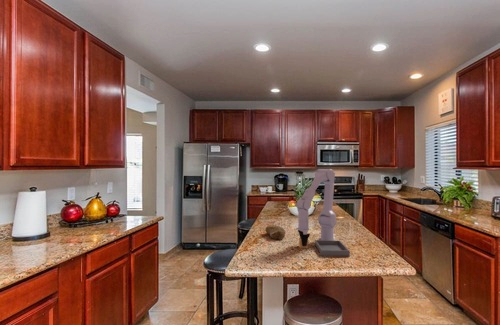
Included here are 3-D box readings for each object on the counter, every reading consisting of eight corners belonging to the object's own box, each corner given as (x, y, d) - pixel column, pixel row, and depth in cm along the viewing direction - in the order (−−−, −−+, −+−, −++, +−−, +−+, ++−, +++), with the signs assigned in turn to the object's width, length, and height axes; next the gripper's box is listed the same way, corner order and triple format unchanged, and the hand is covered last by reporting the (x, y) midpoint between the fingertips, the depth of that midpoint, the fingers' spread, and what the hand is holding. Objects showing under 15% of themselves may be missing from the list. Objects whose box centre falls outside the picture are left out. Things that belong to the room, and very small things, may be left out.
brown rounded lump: (286, 242, 181) (285, 228, 200) (284, 230, 179) (283, 218, 199) (266, 245, 182) (266, 231, 202) (263, 234, 181) (264, 221, 200)
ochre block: (299, 245, 167) (299, 237, 167) (307, 246, 167) (307, 238, 167) (300, 248, 163) (299, 240, 163) (308, 248, 163) (308, 240, 163)
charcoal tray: (315, 245, 168) (315, 240, 168) (339, 245, 167) (339, 240, 167) (321, 256, 148) (321, 250, 148) (349, 256, 147) (349, 250, 147)
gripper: (295, 218, 173) (295, 241, 172) (297, 222, 158) (297, 247, 158) (307, 218, 172) (307, 241, 172) (310, 222, 158) (310, 248, 158)
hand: (303, 244), depth 165 cm, fingers open, 6 cm apart
